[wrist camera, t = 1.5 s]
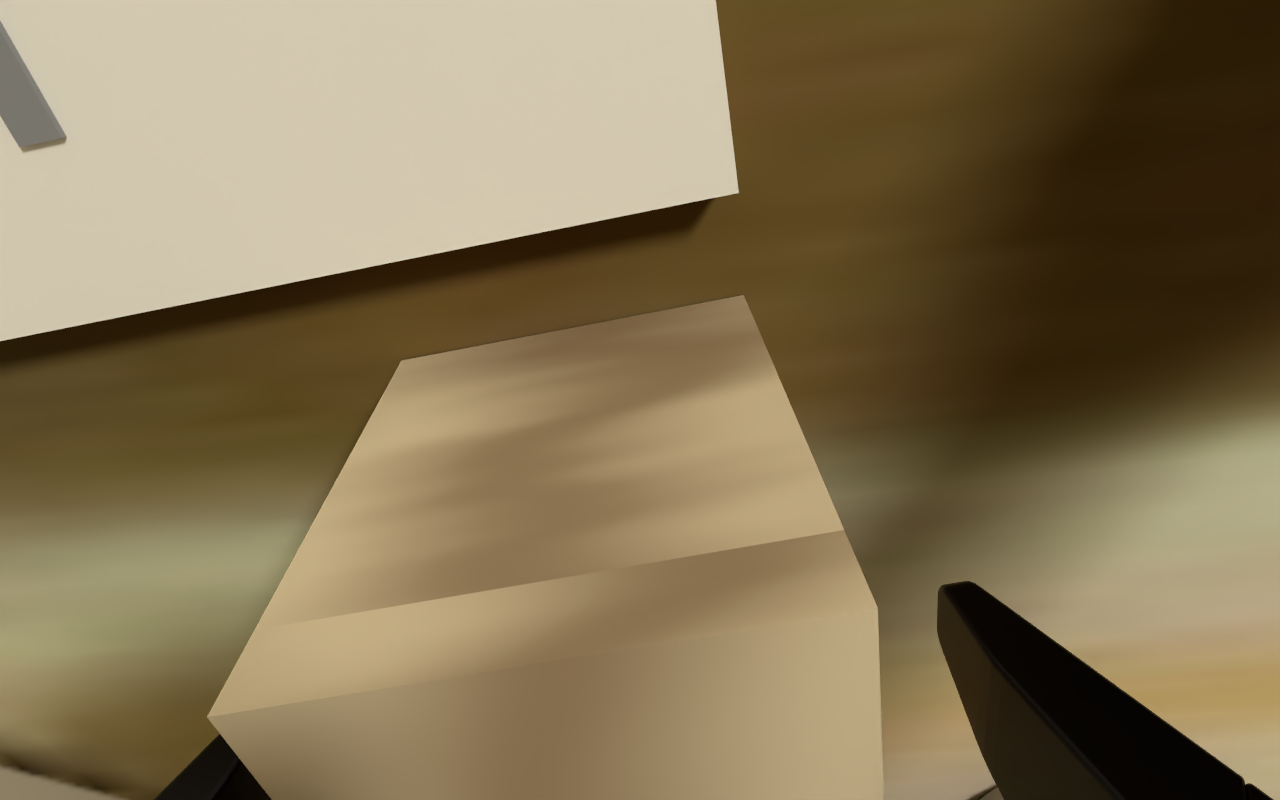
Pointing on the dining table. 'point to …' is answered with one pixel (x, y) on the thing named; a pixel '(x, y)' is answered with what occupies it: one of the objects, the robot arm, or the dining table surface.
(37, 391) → the dining table surface
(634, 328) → the cardboard box
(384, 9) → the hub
